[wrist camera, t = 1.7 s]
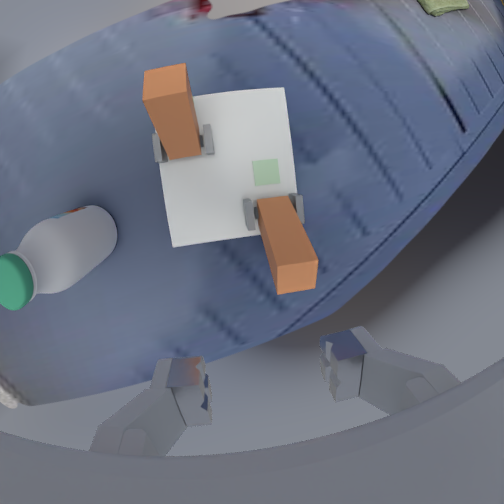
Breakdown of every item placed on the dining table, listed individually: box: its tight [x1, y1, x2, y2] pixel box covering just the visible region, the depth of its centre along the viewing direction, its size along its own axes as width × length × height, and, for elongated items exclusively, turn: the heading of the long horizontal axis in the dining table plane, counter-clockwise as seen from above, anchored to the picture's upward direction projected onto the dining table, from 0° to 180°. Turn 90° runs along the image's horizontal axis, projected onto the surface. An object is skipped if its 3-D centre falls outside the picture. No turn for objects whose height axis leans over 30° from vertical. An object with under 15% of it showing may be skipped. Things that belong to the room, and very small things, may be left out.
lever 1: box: [142, 63, 204, 160], centre depth 26 cm, size 4×4×12 cm
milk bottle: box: [0, 205, 117, 310], centre depth 26 cm, size 8×8×20 cm
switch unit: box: [152, 88, 305, 247], centre depth 33 cm, size 16×18×6 cm
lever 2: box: [254, 196, 318, 295], centre depth 30 cm, size 4×4×12 cm
